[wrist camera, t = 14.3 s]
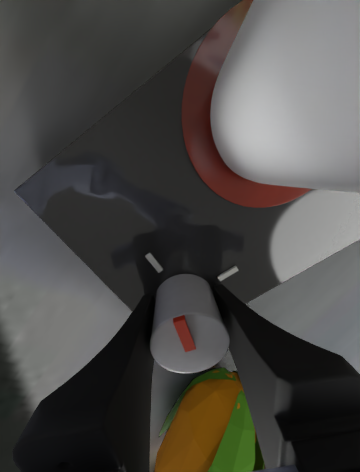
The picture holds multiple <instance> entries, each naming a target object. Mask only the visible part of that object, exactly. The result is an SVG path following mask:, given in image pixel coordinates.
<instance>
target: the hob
mask: <svg viewBox="0 0 360 472" xmlns="http://www.w3.org/2000/svg"><path fill="white" fill-rule="evenodd" d="M211 29H212V28H211ZM211 29H210V30H211ZM210 30H209V31H210ZM209 31H207V32H206V33H205V34H204V35H203V36H201V37H200V38H199V39H198V40H197V41H195V42H194V43H193V44H192V45H190V46H189V47H188V48H187V49H186V50H184V51H183V52H182V53H181V54H180V55H178V56H177V57H176V58H175V59H173V60H172V61H171V62H170V63H169V64H167V65H166V66H165V67H164V68H163V69H161V70H160V71H159V72H158V73H156V74H155V75H154V76H153V77H152V78H150V79H149V80H148V81H147V82H145V83H144V84H143V85H142V86H141V87H139V88H138V89H137V90H136V91H135V92H133V93H132V94H131V95H130V96H128V97H127V98H126V99H125V100H124V101H122V102H121V103H120V104H119V105H118V106H116V107H115V108H114V109H113V110H111V111H110V112H109V113H108V114H107V115H105V116H104V117H103V118H102V119H101V120H99V121H98V122H97V123H96V124H94V125H93V126H92V127H91V128H90V129H88V130H87V131H86V132H85V133H84V134H82V135H81V136H80V137H79V138H77V139H76V140H75V141H74V142H73V143H71V144H70V145H69V146H68V147H67V148H65V149H64V150H63V151H62V152H60V153H59V154H58V155H57V156H56V157H54V158H53V159H52V160H51V161H50V162H48V163H47V164H46V165H45V166H43V167H42V168H41V169H40V170H39V171H37V172H36V173H35V174H34V175H33V176H31V177H30V178H29V179H28V180H26V181H25V182H24V183H23V184H22V185H20V186H19V187H18V188H17V189H16V190H14V192H15V193H16V194H17V195H18V196H19V197H20V198H21V199H22V200H23V201H24V202H25V203H26V204H27V205H28V206H29V207H30V208H31V209H32V210H33V211H34V212H35V213H36V214H37V215H38V216H39V217H40V218H41V219H42V220H43V221H44V222H45V223H46V224H47V225H48V226H49V227H50V228H51V229H52V230H53V231H54V232H55V233H56V234H57V236H58V237H59V238H60V239H61V240H62V241H63V242H64V243H65V244H66V245H67V246H68V247H69V248H70V249H71V250H72V251H73V252H74V253H75V254H76V255H77V256H78V257H79V258H80V259H81V260H82V261H83V262H84V263H85V264H86V265H87V266H88V267H89V268H90V269H91V270H92V271H93V272H94V273H95V274H96V275H97V276H98V277H99V278H100V279H101V280H102V281H103V282H104V283H105V284H106V285H107V286H108V287H109V288H110V289H111V290H112V291H113V292H114V293H115V294H116V295H117V296H118V297H119V298H120V299H121V300H122V301H123V302H124V303H125V304H126V305H127V306H128V307H129V308H130V309H131V310H132V311H134V309H135V308H136V306H137V304H138V303H139V301H140V300H141V298H142V297H143V295H150V294H153V299H154V301H155V294H156V291H157V289H158V288H159V286H160V285H161V284H162V283H163V282H164V281H165V280H167V279H168V278H170V277H172V276H175V275H179V274H193V275H196V276H199V277H201V278H203V279H204V280H206V281H207V282H208V283H209V285H210V286H211V288H212V290H213V293H214V285H220V284H223V285H224V286H225V287H226V288H227V289H228V290H230V291H231V292H232V293H233V294H234V295H235V296H236V297H237V298H238V299H239V300H241V301H242V302H243V303H244V304H246V303H247V302H249V301H251V300H253V299H255V298H256V297H258V296H260V295H262V294H264V293H265V292H267V291H269V290H271V289H272V288H274V287H276V286H278V285H280V284H281V283H283V282H285V281H287V280H289V279H290V278H292V277H294V276H296V275H297V274H299V273H301V272H303V271H305V270H306V269H308V268H310V267H312V266H313V265H315V264H317V263H319V262H321V261H322V260H324V259H326V258H328V257H330V256H331V255H333V254H335V253H337V252H338V251H340V250H342V249H344V248H346V247H347V246H349V245H351V244H353V243H354V242H356V241H358V240H360V193H353V192H342V191H331V190H321V189H311V190H309V191H308V192H307V193H305V194H303V195H302V196H300V197H298V198H296V199H294V200H292V201H289V202H287V203H284V204H280V205H277V206H272V207H265V208H254V207H245V206H241V205H238V204H235V203H232V202H230V201H228V200H225V199H224V198H222V197H220V196H219V195H217V194H216V193H215V192H213V191H212V190H211V189H210V188H209V187H208V186H207V185H206V184H205V183H204V182H203V181H202V179H201V178H200V177H199V175H198V174H197V172H196V171H195V169H194V167H193V165H192V163H191V161H190V159H189V156H188V153H187V150H186V147H185V143H184V139H183V132H182V124H181V107H182V98H183V91H184V87H185V82H186V78H187V75H188V72H189V69H190V66H191V63H192V61H193V59H194V57H195V54H196V52H197V50H198V48H199V46H200V45H201V43H202V42H203V40H204V38H205V37H206V35H207V34H208V32H209Z"/></svg>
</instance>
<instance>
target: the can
mask: <svg viewBox="0 0 360 472" xmlns="http://www.w3.org/2000/svg"><path fill="white" fill-rule="evenodd" d="M210 120H211V130H212V135H213V139H214V142H215V145H216V148H217V150H218V152H219V154H220V156H221V158H222V159H223V161H224V162H225V164H226V165H227V166H228V167H229V168H230V169H231V170H232V171H233V172H235V173H236V174H238V175H239V176H241V177H243V178H245V179H248V180H251V181H254V182H258V183H262V184H270V185H279V186H289V187H299V188H310V189H321V190H331V191H342V192H353V193H360V0H253V2H252V4H251V6H250V8H249V11H248V13H247V15H246V17H245V19H244V21H243V23H242V25H241V27H240V29H239V31H238V34H237V36H236V38H235V40H234V42H233V44H232V46H231V48H230V50H229V53H228V55H227V57H226V59H225V61H224V63H223V65H222V68H221V70H220V72H219V75H218V77H217V80H216V83H215V87H214V90H213V95H212V100H211V110H210Z"/></svg>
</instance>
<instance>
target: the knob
mask: <svg viewBox="0 0 360 472" xmlns="http://www.w3.org/2000/svg"><path fill="white" fill-rule="evenodd" d="M229 343H230V336H229V332H228V329H227V327H226V324H225V322H224V319H223V316H222V314H221V311H220V308H219V306H218V303H217V301H216V298H215V295H214V293H213V290H212V288H211V286H210V285H209V283H208V282H207V281H206V280H204V279H203V278H201V277H199V276H196V275H193V274H179V275H175V276H172V277H170V278H168V279H167V280H165V281H164V282H163V283H162V284H161V285H160V286H159V288H158V289H157V291H156V294H155V301H154V309H153V318H152V327H151V335H150V351H151V354H152V356H153V358H154V360H155V361H156V362H157V363H158V364H159V365H160V366H162V367H163V368H165V369H167V370H170V371H173V372H177V373H196V372H200V371H203V370H206V369H208V368H210V367H212V366H214V365H215V364H217V363H218V362H219V361H220V360H221V359H222V358H223V357H224V356H225V354H226V353H227V351H228V348H229Z"/></svg>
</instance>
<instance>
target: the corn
mask: <svg viewBox="0 0 360 472" xmlns="http://www.w3.org/2000/svg"><path fill="white" fill-rule="evenodd" d="M167 429H168V431H167V433H166V436H165V438H164V440H163V442H162V444H161V446H160V449H159V451H158V453H157V459H156V465H155V471H154V472H251V471H257V470H263V469H264V464H265V463H264V460H263V456H262V453H261V449H260V445H259V442H258V438H257V435H256V431H255V428H254V424H253V421H252V417H251V414H250V410H249V407H248V404H247V400H246V397H245V394H244V390H243V387H242V384H241V381H240V377H239V374H238V371H233V372H229V371H228V370H226V369H225V368H218V369H212V370H210V371H208V372H206V373H204V374H202V375H200V376H198V377H196V378H195V379H193V380H192V382H191V383H190V384H189V385H188V387H187V388H186V389H185V390H184V391H183V393H182V394H181V396H180V398H179V399H178V401H177V402H176V404H175V405H174V407H173V408H172V410H171V411H170V413H169V414H168V416H167V418H166V420H165V422H164V424H163V427H162V429H161V431H160V434H159V437H160V436H161V435H162V433H164V432H165V431H166V430H167ZM159 437H158V438H159Z"/></svg>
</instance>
